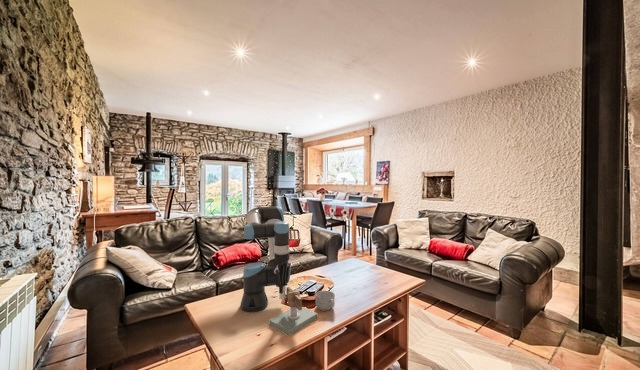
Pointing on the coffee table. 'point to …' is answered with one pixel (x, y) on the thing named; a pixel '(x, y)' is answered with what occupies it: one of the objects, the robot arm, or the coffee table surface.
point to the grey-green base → (293, 320)
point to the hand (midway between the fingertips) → (282, 298)
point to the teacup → (324, 300)
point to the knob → (294, 298)
